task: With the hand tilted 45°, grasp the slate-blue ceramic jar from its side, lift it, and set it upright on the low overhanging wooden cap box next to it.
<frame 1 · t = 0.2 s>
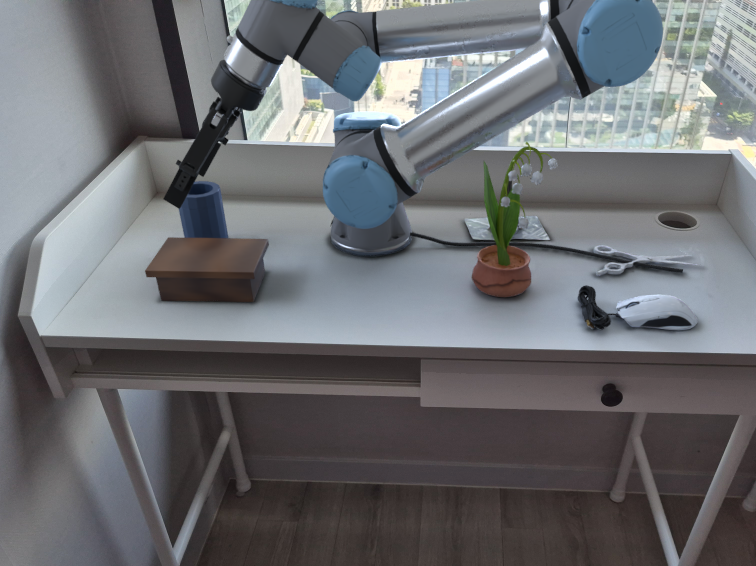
hand: (184, 187, 112), 15 cm above the table, tool tilted 35°, fingers open, 13 cm apart
overhanging wooden cap box: (215, 286, 116), on the table
computer mouse: (637, 319, 110), on the table
jar: (208, 246, 128), on the table
scissors: (645, 263, 125), on the table
potted flower: (506, 289, 117), on the table, touching arm
flat silver square plate: (505, 231, 136), on the table
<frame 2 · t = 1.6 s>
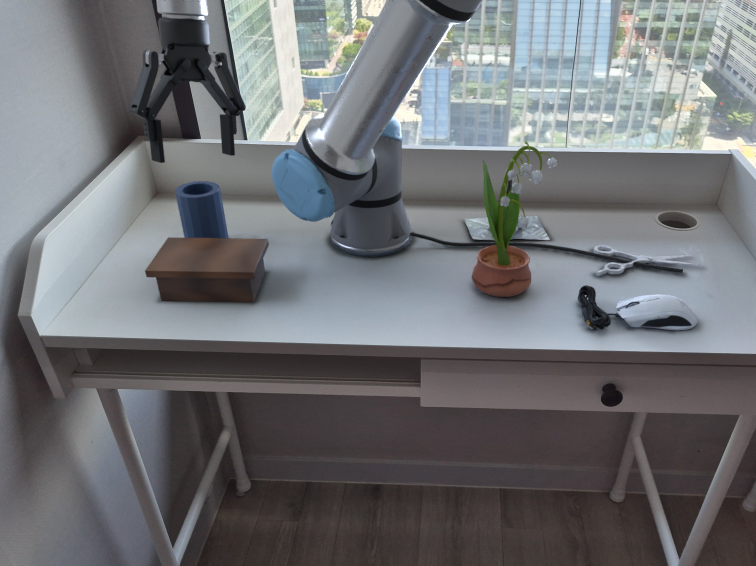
hand: (194, 158, 118), 17 cm above the table, tool pointing down, fingers open, 13 cm apart
potted flower: (506, 288, 117), on the table
everything else where it was.
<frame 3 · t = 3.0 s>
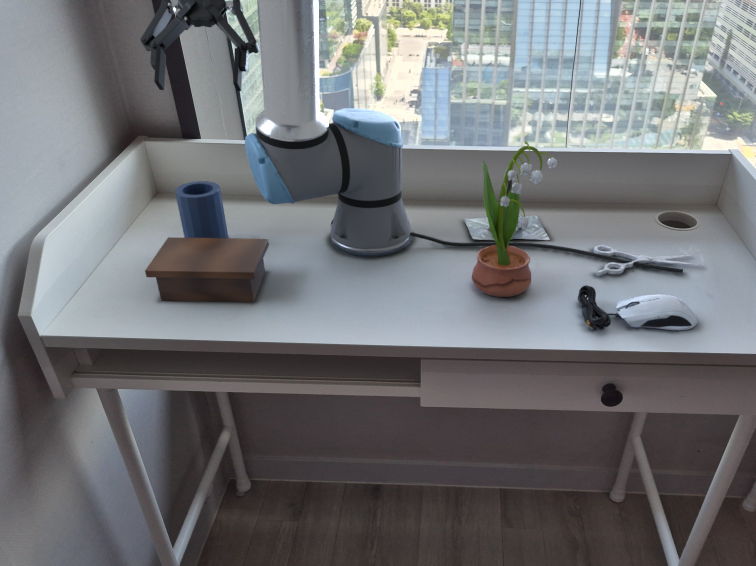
hand: (198, 86, 121), 26 cm above the table, tool tilted 45°, fingers open, 13 cm apart
nothing on the table moved.
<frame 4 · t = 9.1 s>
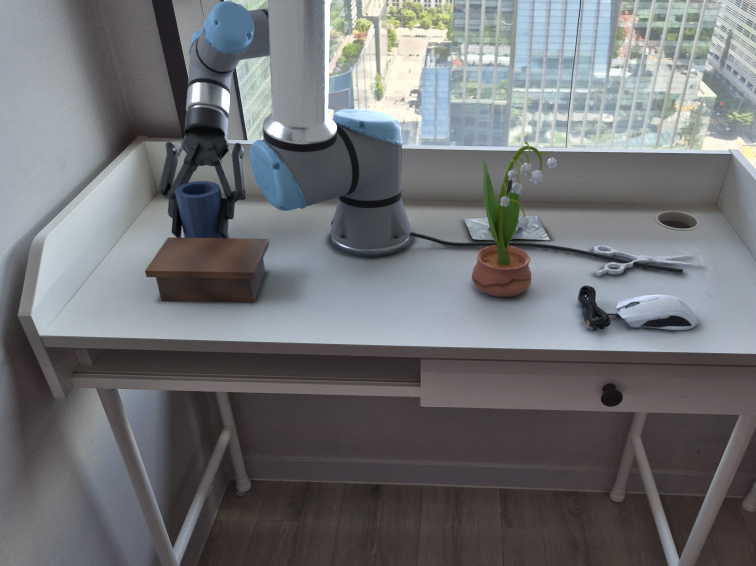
hand: (199, 235, 123), 4 cm above the table, tool tilted 45°, fingers closed on jar, 8 cm apart
jar: (208, 246, 128), on the table, touching gripper
everything else where it was.
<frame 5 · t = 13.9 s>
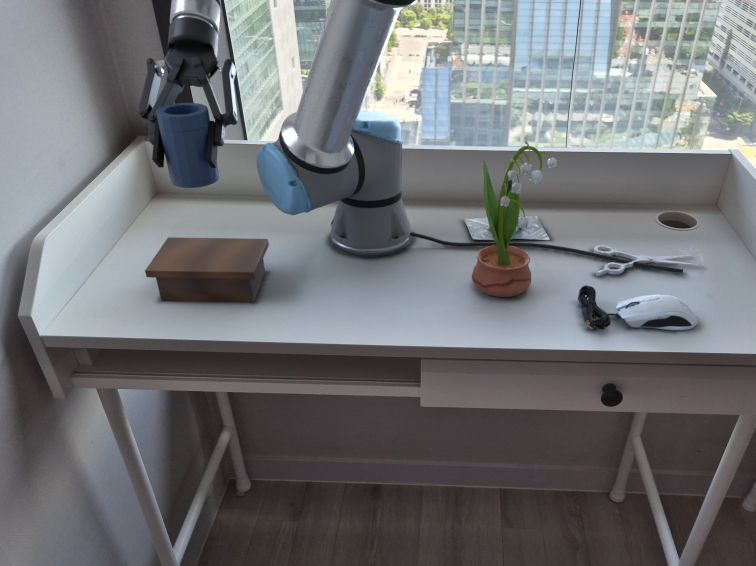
hand: (184, 163, 108), 20 cm above the table, tool tilted 45°, fingers closed on jar, 8 cm apart
jar: (195, 179, 113), point 16 cm above the table, touching gripper
everything else where it was.
when the fingers open (10 cm above the table, at t = 19.0 s): jar stays where it is, resting on overhanging wooden cap box.
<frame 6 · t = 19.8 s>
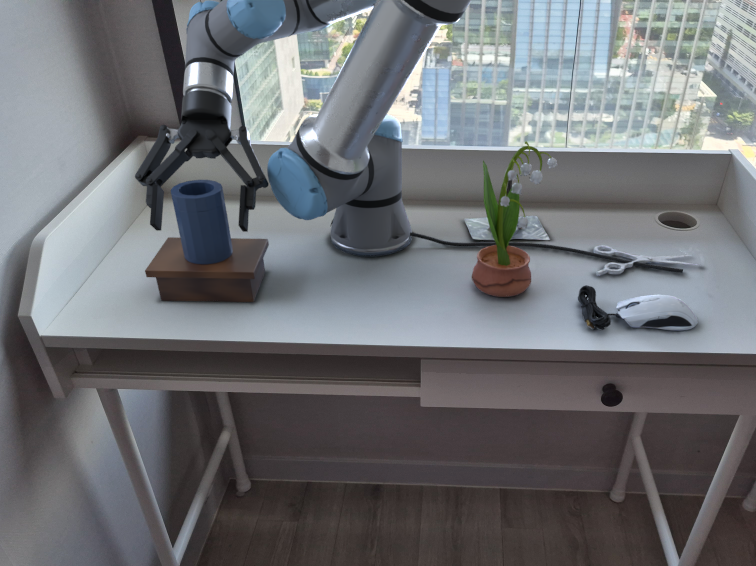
hand: (199, 228, 107), 12 cm above the table, tool tilted 45°, fingers open, 13 cm apart
jar: (208, 253, 113), point 6 cm above the table, touching overhanging wooden cap box
everything else where it was.
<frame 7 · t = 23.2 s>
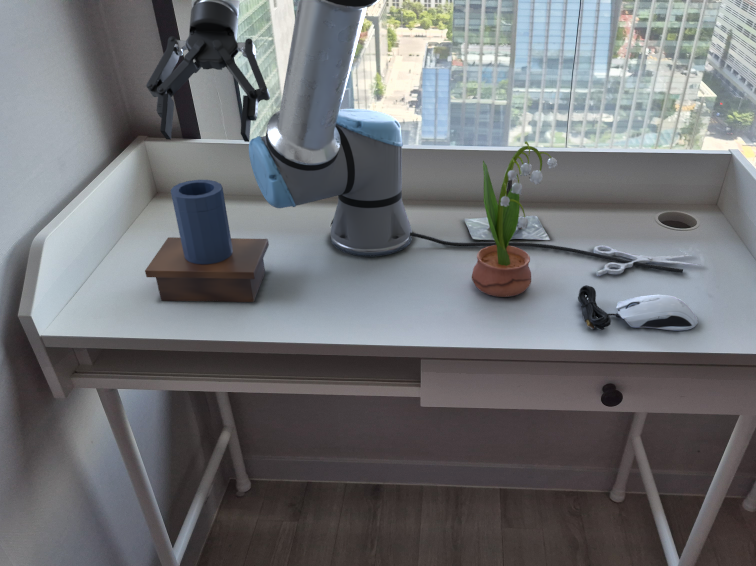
hand: (205, 136, 111), 22 cm above the table, tool tilted 45°, fingers open, 12 cm apart
nothing on the table moved.
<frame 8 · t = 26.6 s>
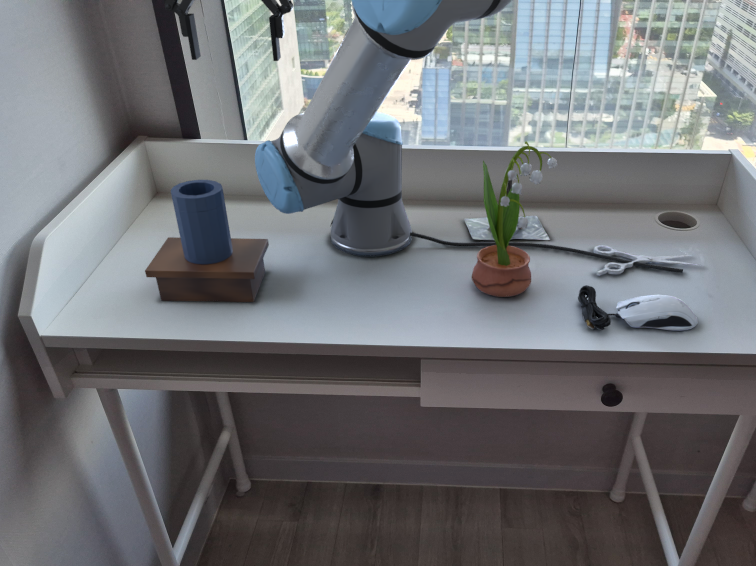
hand: (236, 58, 116), 31 cm above the table, tool pointing down, fingers open, 13 cm apart
nothing on the table moved.
at the end: jar inside the target area on the overhanging wooden cap box (0.1 cm from its centre), point 6.0 cm above the overhanging wooden cap box's base; jar tilted 0°; the gripper is holding nothing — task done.
